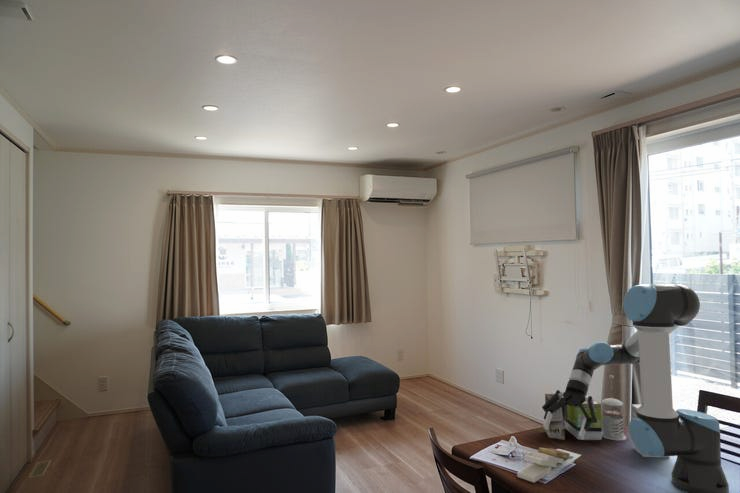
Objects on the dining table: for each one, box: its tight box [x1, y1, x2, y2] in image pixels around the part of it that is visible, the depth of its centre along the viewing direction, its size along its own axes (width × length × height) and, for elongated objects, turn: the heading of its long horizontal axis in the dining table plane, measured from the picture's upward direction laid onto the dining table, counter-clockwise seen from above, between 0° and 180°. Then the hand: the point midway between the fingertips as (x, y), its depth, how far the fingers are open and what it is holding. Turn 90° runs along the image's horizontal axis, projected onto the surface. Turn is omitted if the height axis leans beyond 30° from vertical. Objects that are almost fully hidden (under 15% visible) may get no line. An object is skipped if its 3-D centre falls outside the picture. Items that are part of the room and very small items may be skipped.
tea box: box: [564, 395, 603, 441], centre depth 202 cm, size 15×10×15 cm
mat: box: [546, 448, 582, 477], centre depth 173 cm, size 25×9×1 cm, turn 133°
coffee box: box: [544, 393, 566, 441], centre depth 200 cm, size 9×6×16 cm
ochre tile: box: [537, 447, 570, 458], centre depth 174 cm, size 2×6×12 cm
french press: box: [601, 374, 627, 441], centre depth 199 cm, size 10×12×25 cm
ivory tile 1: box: [530, 450, 564, 464], centre depth 169 cm, size 2×6×12 cm
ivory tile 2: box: [523, 454, 557, 467], centre depth 166 cm, size 2×6×12 cm
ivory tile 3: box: [516, 462, 551, 483], centre depth 163 cm, size 2×6×12 cm
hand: (562, 432), depth 179 cm, fingers open, 13 cm apart
